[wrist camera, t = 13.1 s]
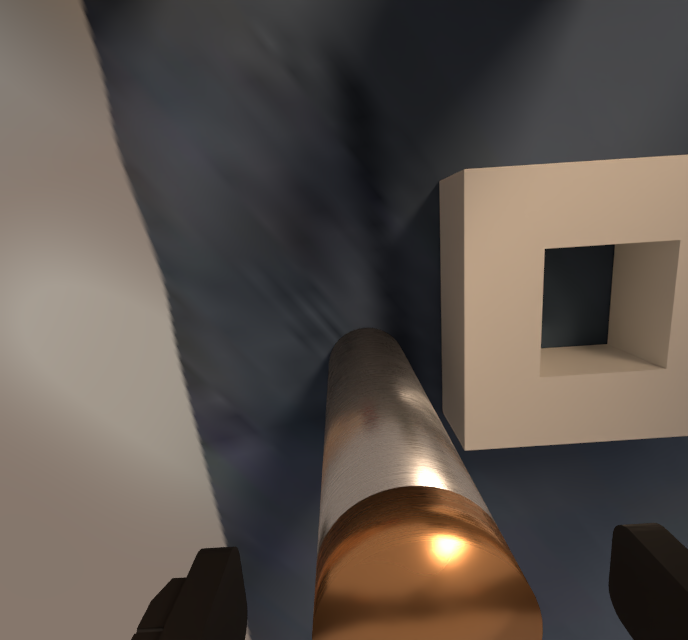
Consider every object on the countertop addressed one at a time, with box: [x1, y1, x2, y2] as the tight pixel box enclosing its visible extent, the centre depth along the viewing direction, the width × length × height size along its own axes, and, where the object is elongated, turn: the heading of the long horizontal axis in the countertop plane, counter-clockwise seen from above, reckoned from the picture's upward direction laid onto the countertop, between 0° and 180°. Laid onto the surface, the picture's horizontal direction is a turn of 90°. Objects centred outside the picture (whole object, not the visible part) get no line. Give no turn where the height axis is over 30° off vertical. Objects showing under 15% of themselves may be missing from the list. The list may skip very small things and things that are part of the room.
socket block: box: [439, 155, 688, 451], centre depth 19 cm, size 12×12×4 cm
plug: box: [312, 328, 543, 640], centre depth 14 cm, size 4×4×15 cm
